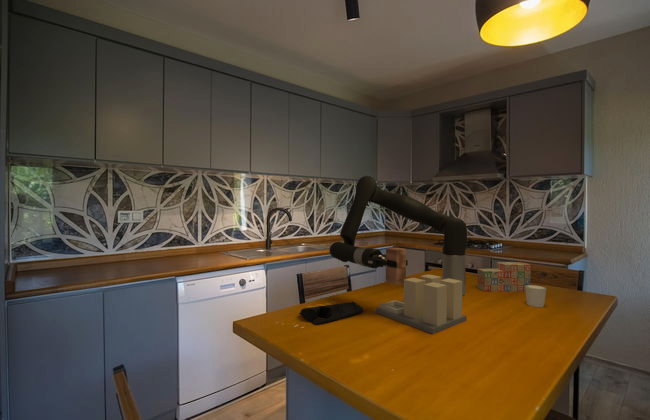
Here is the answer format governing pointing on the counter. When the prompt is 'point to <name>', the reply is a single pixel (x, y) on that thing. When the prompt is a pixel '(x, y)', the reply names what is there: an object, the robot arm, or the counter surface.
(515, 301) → the counter surface
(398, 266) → the terracotta pillar
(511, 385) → the counter surface
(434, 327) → the pillar board
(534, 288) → the beige piece
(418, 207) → the robot arm
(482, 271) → the stack of blocks
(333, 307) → the dark slate chunk
